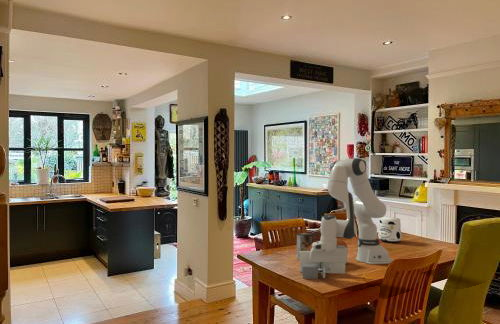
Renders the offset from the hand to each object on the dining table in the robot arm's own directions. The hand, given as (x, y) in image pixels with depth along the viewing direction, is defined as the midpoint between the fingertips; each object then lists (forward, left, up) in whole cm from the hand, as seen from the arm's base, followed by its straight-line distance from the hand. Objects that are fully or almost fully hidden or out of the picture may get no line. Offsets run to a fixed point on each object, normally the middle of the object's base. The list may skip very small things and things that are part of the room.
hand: (328, 270), depth 203 cm
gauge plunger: (+8, -2, -3) cm, 9 cm away
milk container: (-61, -96, -5) cm, 114 cm away
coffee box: (+10, -38, -5) cm, 40 cm away
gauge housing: (+2, -4, -4) cm, 6 cm away
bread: (-3, -26, -5) cm, 27 cm away
